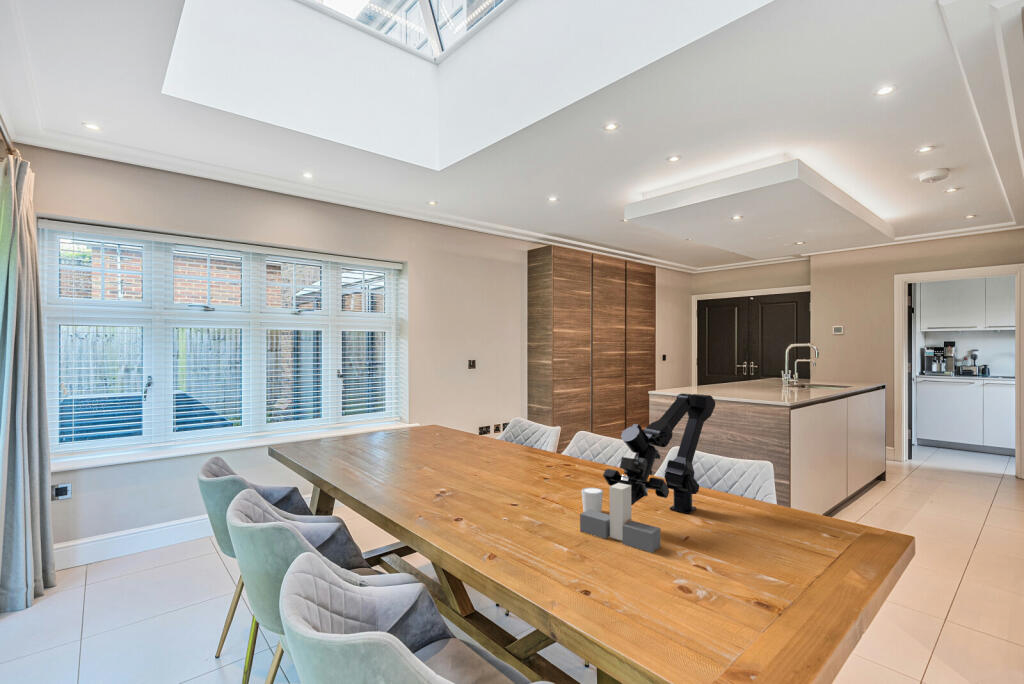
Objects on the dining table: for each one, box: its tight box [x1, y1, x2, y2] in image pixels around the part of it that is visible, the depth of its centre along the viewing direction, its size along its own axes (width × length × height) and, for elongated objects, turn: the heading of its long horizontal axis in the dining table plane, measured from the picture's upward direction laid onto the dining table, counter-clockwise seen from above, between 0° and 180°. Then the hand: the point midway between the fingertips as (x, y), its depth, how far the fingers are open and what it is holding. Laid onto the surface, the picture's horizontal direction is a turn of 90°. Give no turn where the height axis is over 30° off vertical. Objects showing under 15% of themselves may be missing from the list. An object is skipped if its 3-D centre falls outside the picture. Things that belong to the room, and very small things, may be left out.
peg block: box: [608, 483, 633, 542], centre depth 133 cm, size 5×4×14 cm
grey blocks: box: [579, 510, 662, 554], centre depth 132 cm, size 5×22×5 cm, turn 48°
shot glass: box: [581, 487, 604, 513], centre depth 154 cm, size 7×7×7 cm
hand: (625, 508), depth 135 cm, fingers closed, pressing on peg block
